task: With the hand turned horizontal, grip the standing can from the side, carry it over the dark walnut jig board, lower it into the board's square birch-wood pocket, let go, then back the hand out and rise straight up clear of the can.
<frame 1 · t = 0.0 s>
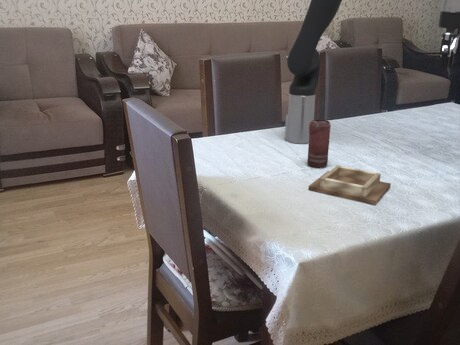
hand: (445, 68, 133), 29 cm above the table, tool pointing down, fingers open, 8 cm apart
can: (316, 165, 141), on the table
jig: (349, 188, 123), on the table
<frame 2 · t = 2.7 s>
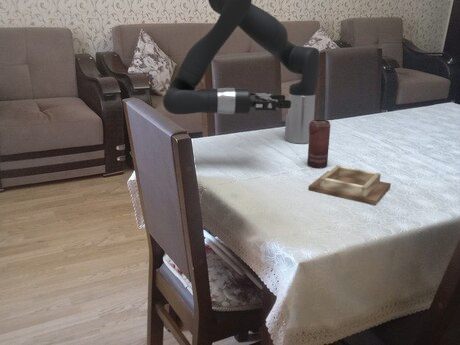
hand: (287, 101, 133), 20 cm above the table, tool horizontal, fingers open, 8 cm apart
nothing on the table moved.
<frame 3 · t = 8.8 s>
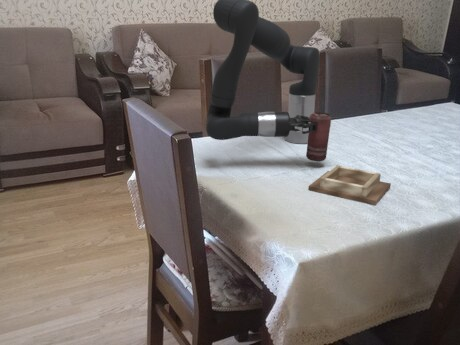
hand: (329, 124, 137), 13 cm above the table, tool horizontal, fingers closed
can: (315, 159, 140), point 2 cm above the table, touching gripper, hand
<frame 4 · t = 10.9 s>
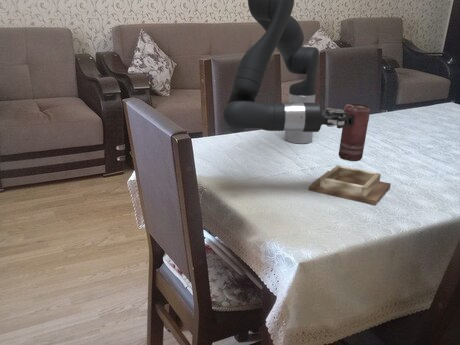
hand: (367, 117, 116), 20 cm above the table, tool horizontal, fingers closed
can: (349, 158, 120), point 9 cm above the table, touching gripper, hand
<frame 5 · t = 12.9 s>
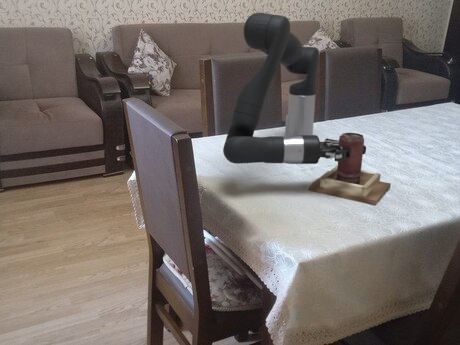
hand: (364, 149, 119), 11 cm above the table, tool horizontal, fingers closed
can: (347, 185, 122), point 1 cm above the table, touching jig
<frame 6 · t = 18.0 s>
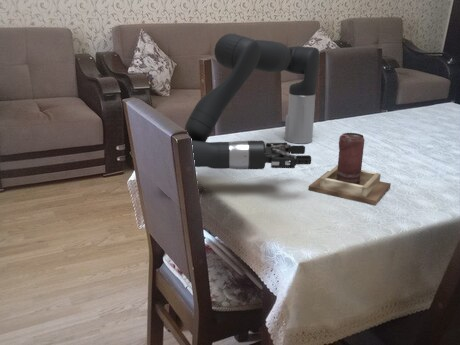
hand: (307, 154, 119), 10 cm above the table, tool horizontal, fingers open, 8 cm apart
nothing on the table moved.
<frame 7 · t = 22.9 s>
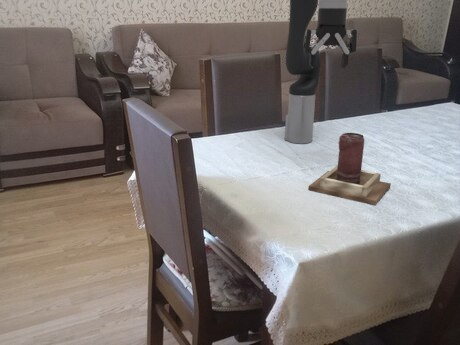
hand: (328, 67, 128), 30 cm above the table, tool pointing down, fingers open, 8 cm apart
nothing on the table moved.
at the end: can 1.0 cm off-centre on the jig, point 1.0 cm above the jig's base; can tilted 0°; the gripper is holding nothing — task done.
